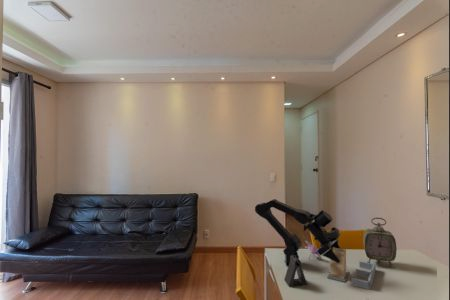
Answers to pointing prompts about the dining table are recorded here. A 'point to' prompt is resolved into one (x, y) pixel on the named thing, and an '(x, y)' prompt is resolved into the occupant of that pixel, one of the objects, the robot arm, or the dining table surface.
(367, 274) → the shelf
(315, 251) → the lily
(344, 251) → the oak block
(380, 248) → the tabletop clock
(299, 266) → the phone stand
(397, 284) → the dining table surface
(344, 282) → the rubber mat
